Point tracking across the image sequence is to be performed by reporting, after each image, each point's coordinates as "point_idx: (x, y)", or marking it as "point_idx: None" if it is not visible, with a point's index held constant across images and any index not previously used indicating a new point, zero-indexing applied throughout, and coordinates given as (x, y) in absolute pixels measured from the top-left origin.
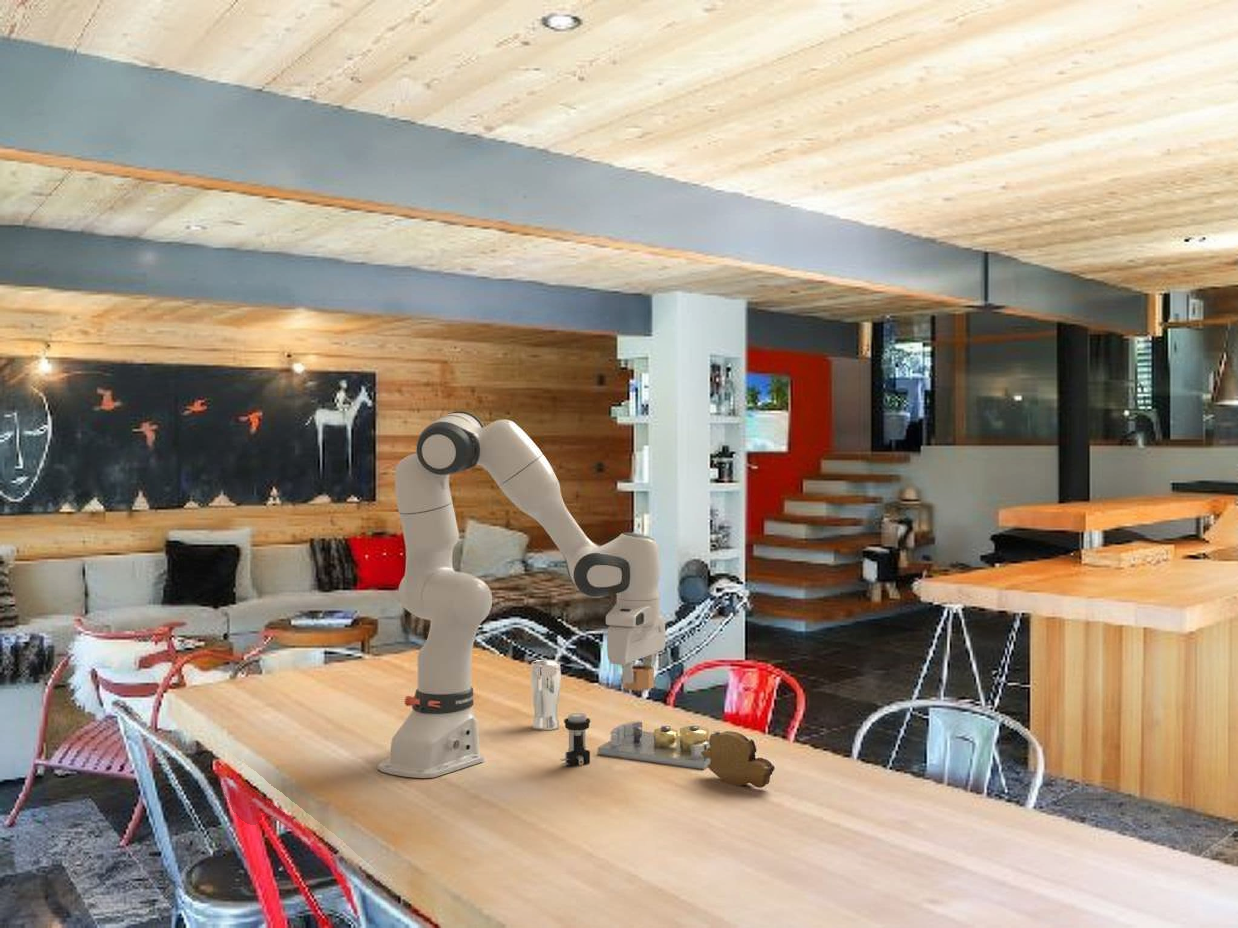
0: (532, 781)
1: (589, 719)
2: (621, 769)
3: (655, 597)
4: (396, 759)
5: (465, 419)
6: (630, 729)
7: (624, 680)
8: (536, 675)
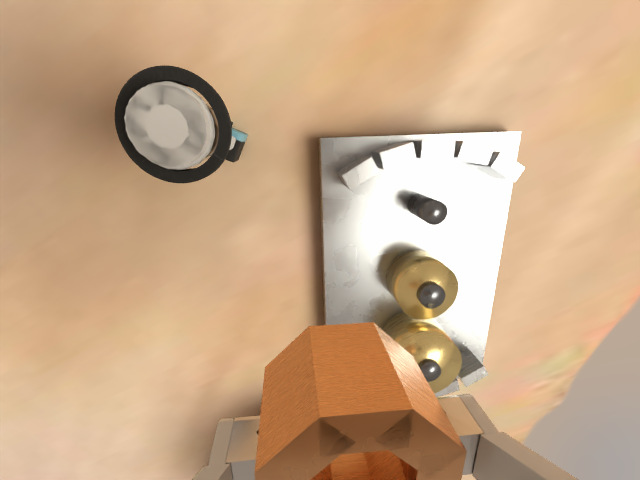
0: (4, 104)
1: (213, 168)
2: (238, 251)
3: None
4: None
5: None
6: (471, 162)
7: (218, 424)
8: None
